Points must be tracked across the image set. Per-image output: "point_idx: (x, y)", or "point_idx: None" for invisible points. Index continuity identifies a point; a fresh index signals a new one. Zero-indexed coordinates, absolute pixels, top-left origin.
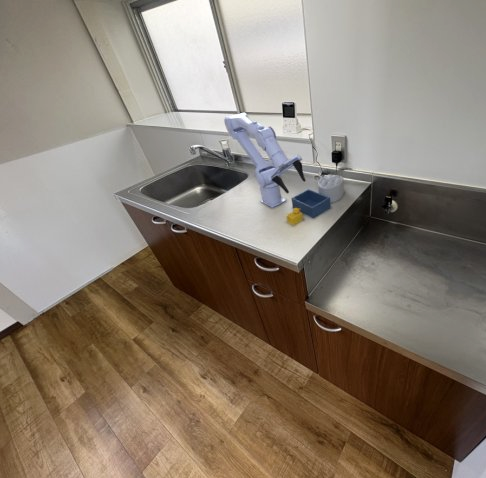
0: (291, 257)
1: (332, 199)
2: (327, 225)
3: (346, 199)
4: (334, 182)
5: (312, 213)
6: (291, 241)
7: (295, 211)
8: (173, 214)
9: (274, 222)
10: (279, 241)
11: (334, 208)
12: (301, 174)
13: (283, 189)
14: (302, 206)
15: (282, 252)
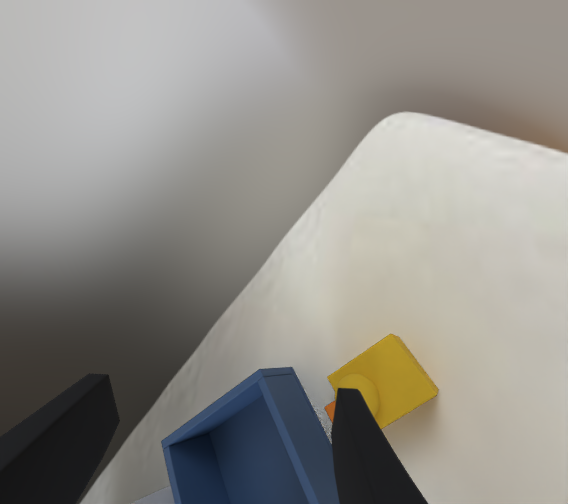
0: (412, 120)
1: (171, 489)
2: (253, 293)
3: (136, 471)
4: None
5: (279, 369)
6: (411, 210)
7: (358, 378)
8: None
9: (548, 427)
10: (479, 215)
11: None
12: (16, 427)
13: (380, 431)
14: (313, 459)
15: (455, 143)
